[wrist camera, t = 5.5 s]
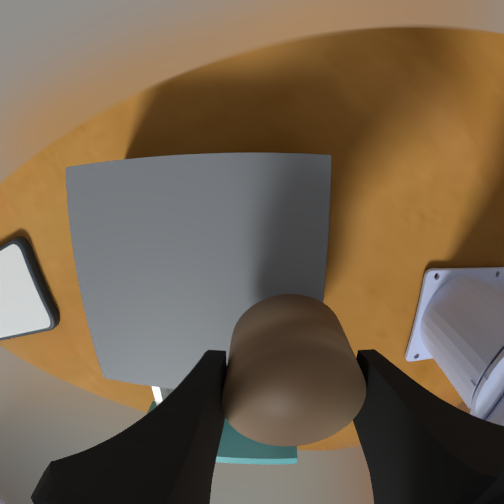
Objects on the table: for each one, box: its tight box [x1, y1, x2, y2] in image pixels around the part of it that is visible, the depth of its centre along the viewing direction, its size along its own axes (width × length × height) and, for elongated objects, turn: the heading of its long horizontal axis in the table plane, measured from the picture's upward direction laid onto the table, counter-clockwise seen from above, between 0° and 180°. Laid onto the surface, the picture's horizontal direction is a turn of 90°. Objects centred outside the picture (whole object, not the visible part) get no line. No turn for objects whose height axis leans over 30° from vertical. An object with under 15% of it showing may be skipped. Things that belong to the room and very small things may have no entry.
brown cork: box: [221, 294, 366, 446], centre depth 10 cm, size 4×4×4 cm
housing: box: [66, 153, 331, 389], centre depth 16 cm, size 12×12×6 cm
